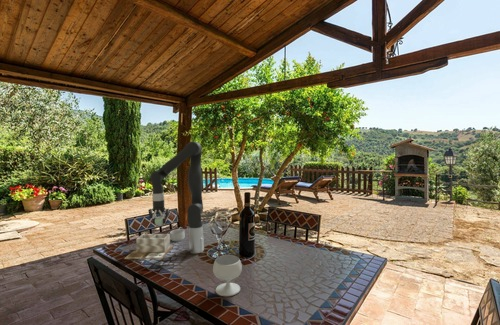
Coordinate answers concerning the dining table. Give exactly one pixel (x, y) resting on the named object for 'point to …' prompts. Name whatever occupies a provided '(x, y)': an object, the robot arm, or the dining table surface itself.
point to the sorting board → (151, 247)
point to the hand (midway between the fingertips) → (159, 223)
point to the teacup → (177, 235)
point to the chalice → (227, 274)
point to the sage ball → (159, 221)
